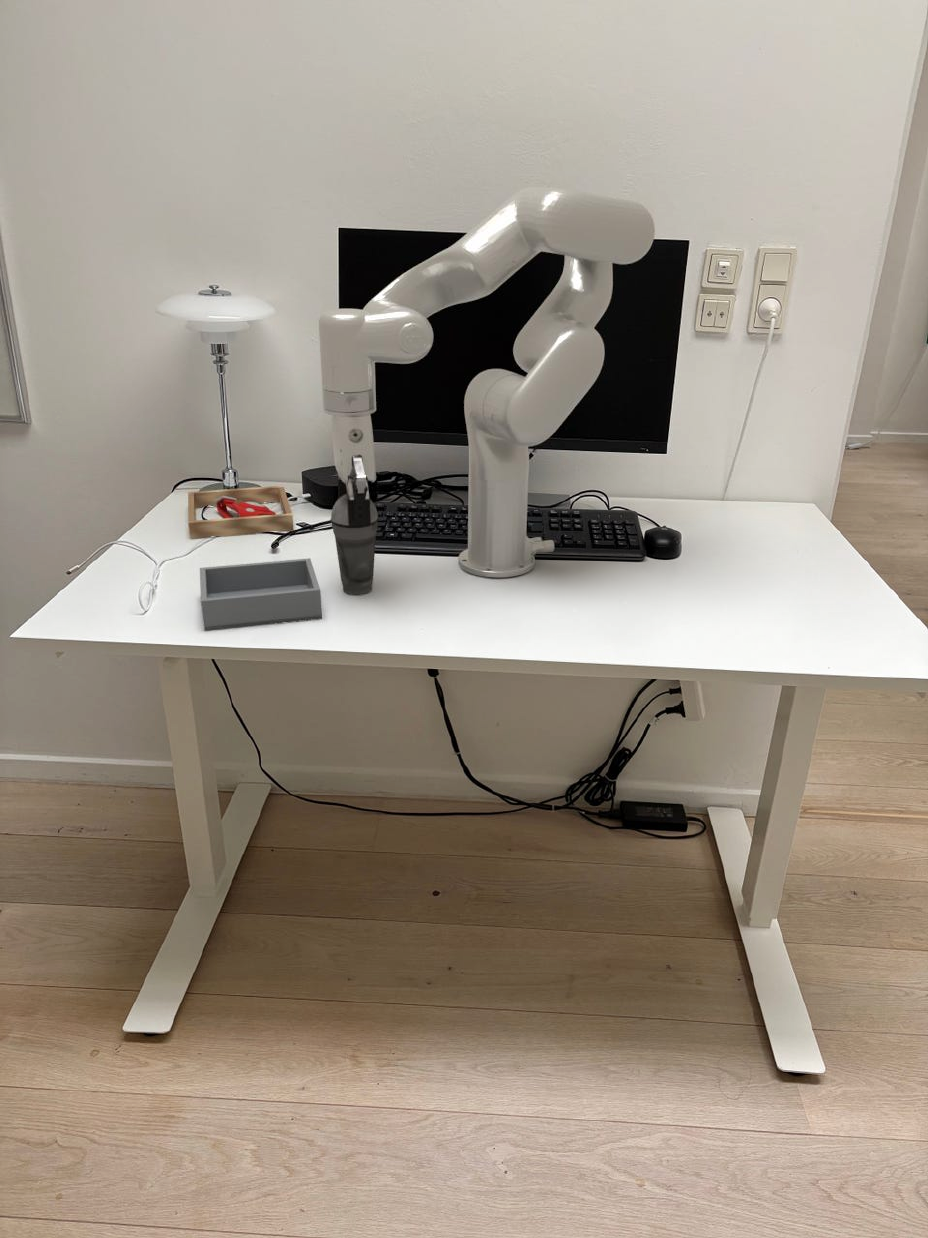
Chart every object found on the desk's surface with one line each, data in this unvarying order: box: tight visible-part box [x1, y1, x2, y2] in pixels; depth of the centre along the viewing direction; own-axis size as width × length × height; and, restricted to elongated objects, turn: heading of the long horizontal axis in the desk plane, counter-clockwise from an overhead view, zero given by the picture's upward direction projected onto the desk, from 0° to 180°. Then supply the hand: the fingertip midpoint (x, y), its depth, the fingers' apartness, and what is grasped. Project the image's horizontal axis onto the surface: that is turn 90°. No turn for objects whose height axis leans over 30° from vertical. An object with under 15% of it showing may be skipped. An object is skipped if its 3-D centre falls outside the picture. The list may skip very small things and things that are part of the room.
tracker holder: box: [214, 496, 277, 519], centre depth 178 cm, size 12×4×10 cm
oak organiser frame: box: [187, 485, 295, 540], centre depth 178 cm, size 18×18×3 cm
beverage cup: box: [329, 484, 380, 596], centre depth 145 cm, size 7×7×20 cm
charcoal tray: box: [199, 558, 323, 632], centre depth 142 cm, size 17×13×5 cm
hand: (354, 514), depth 144 cm, fingers open, 9 cm apart
